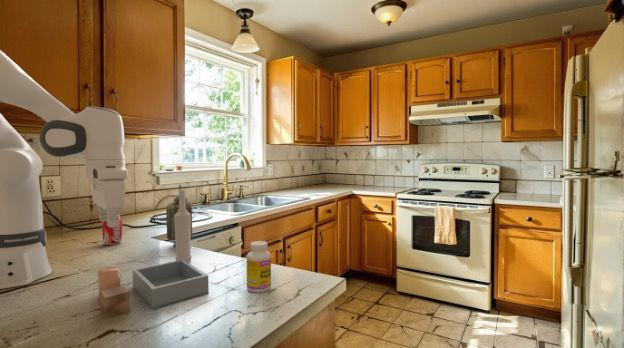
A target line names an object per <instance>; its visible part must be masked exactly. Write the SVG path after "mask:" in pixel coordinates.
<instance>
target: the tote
mask: <svg viewBox="0 0 624 348" xmlns="http://www.w3.org/2000/svg"><path fill="white" fill-rule="evenodd" d="M132 288H133V290H135V292H137V294H138V295H139V296H140V297H141V298H142V299H143V301H145V303H146V304H147V305H148V306H149V307H150V308H151V310H153V311H154V310H157V309H160V308H163V307H167V306H171V305H173V304H174V305H175V304H178V303H182V302H185V301H188V300H192V299H196V298H199V297H203V296H206V295H209V274H208V273H205V272H204V271H202V270H200V269H198V268H197V267H196V266H194V265H192V264H191V263H190V262H189V263H188V262H186V261H184V260H178V261H176V260H175V261H169V262H166V263H159V264H155V265H151V266H150V265H149V266H144V267H141V268H140V267H139V268H135V269H132Z"/></svg>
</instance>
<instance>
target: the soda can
mask: <svg viewBox="0 0 624 348" xmlns="http://www.w3.org/2000/svg"><path fill="white" fill-rule="evenodd" d="M101 222H102V221H101ZM116 223H117V225H116V227H108V226H107V221H103V222H102V242H103V244H104V245H106V246H116V245H120V243H122V242H123V219H122V217H121V214H119V213H118V215H117V220H116Z"/></svg>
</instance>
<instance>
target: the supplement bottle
mask: <svg viewBox="0 0 624 348" xmlns="http://www.w3.org/2000/svg"><path fill="white" fill-rule="evenodd" d="M249 245H250V246H249V247H250V251H249V252H247V254H246V289H247V290H248V291H249V292H251V293H254V294H256V293H257V294H259V293H265V292H267V291H269V290H270V289H271V287H272V254H271V252H270V251H269V250H268V247H269V246H268V242H267V241H264V240H256V241H251V242H250V244H249Z"/></svg>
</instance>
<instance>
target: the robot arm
mask: <svg viewBox="0 0 624 348" xmlns="http://www.w3.org/2000/svg"><path fill="white" fill-rule="evenodd" d="M0 102H1V103H5V104H9V105H12V106H16V107H19V108H20V109H21V108H22V109H24V110H26V111H29V112H31V113H33V114H34V115H37V116H38V117H39V118H41V119H42V120H44V121H45V122H46V123H45V124H44V125H43V127H41V129H40V133H39V142H40V145H41V148H42V149H43V150H44V151H45V152H46V153H47V154H48V155H51V156H53V157H56V158H62V159H84V167H85V170H84V171H85V178H86V179H91V185H92V186H91V189H92V190H91V191H92V192H91V194H92V195H91V197H92V202H93V203H94V204H96V205H97V210H98V213H99V221H100V222H103V221H107V226H108V227H116V225H117V223H116V220H117V215H118V214H119V212H118V211H122V210H124V208H125V204H126V203H125V201H126V179H128V178H129V174H128V173H129V172H128V169H127V168H126V156H125V153H124V146H125V130H124V123H123V117H122V116H121V113H119V112H117V111H116V110H113V109H110V108H105V107H101V106H100V107H99V106H93V105H91V106H90V105H89V106H87V107H85V108H84V109H83V110H82V111H79V113H76V112H74V111H73V110H71V109H70V108H69V107H67V106H66V105H65V104H64V103H62V102H61V101H60V100H59V99H57V98H56V97H55V96H53V95H52V94H51V93H50V92H48V91H47V90H46V89H45V88H43V86H41V85H40V84H39V83H38V82H36V81H35V79H33V78H32V77H31V76H30V75H29V74H27V72H25V71H24V70H23V69H22V68H21V67H20V66H19V65H18V64H17V63H16V62H14V61H13V60H12V59H11V58H10V57H9V56H8V55H7V54H6V53H5V52H3V51H2V50H1V49H0ZM43 168H44V167H43V160H42V159H41V157H40V155H38V154H37V153H36V151H35V150H34V149H33V148H32V147H31V146H30V145H29V143H28V142H27V141H26V140H25V139H24V138H23V137H22V136H21V135H20V134H19V132H17V130H16V129H15V128H14V127H13V126H12V125H11V124H10V123H9V122H8V120H7V119H6V117H4V116H3V114H2V113H1V112H0V290H1V289H2V290H3V289H8V288H14V287H20V286H26V285H29V284H31V283H33V282H34V281H37V280H39V279H43V278H45V277H47V276H49V275H50V274H51V273H52V272H53V269H52V268H51V265H50V262H49V258H48V256H47V250H46V249H47V248H46V246H47V231H46V228H45V226H44V211H43V200H42V195H41V194H42V193H41V186H40V175H41V173H42V171H43Z"/></svg>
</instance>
